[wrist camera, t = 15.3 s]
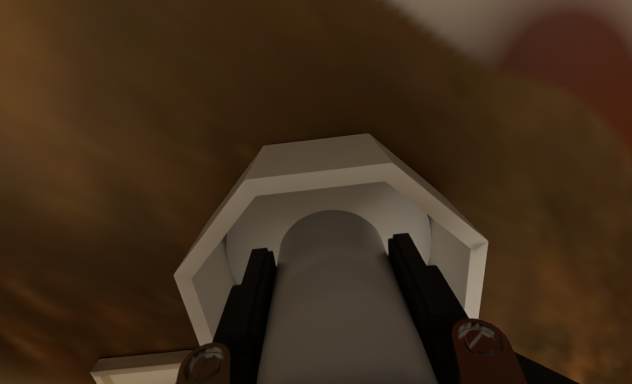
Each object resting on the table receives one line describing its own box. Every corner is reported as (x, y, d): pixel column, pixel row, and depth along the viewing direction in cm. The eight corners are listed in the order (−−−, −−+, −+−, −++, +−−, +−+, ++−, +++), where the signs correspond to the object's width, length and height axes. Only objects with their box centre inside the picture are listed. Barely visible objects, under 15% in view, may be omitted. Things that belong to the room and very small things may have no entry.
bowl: (434, 317, 21) (468, 389, 16) (243, 336, 21) (225, 411, 17) (444, 124, 16) (500, 150, 11) (190, 154, 16) (142, 191, 11)
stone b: (382, 203, 12) (453, 349, 6) (385, 292, 13) (443, 472, 8) (270, 216, 12) (229, 370, 6) (287, 302, 14) (269, 486, 8)
